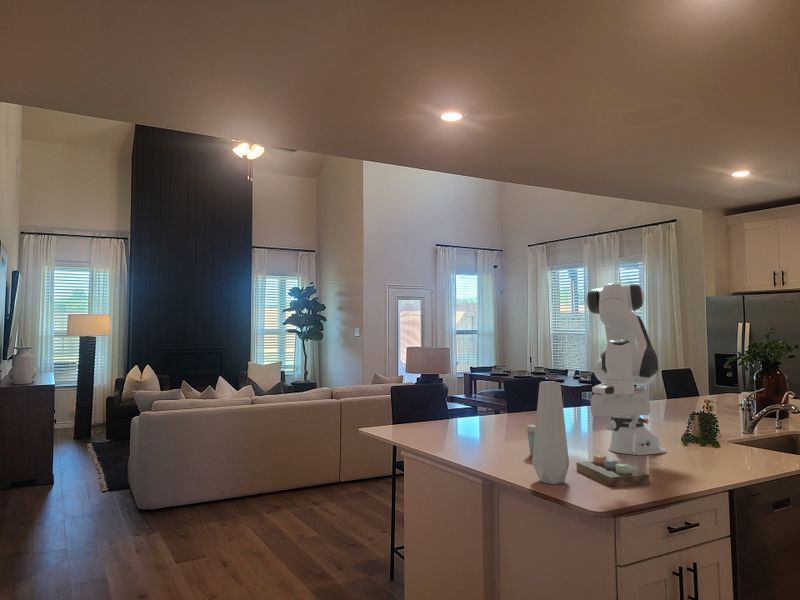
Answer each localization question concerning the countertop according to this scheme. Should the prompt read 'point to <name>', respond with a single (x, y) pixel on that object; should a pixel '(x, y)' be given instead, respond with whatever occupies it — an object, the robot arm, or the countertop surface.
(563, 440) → the white faceted column
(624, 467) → the button sage
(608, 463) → the button grey
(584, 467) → the panel
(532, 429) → the coffee cup
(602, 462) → the button terracotta
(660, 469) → the countertop surface
